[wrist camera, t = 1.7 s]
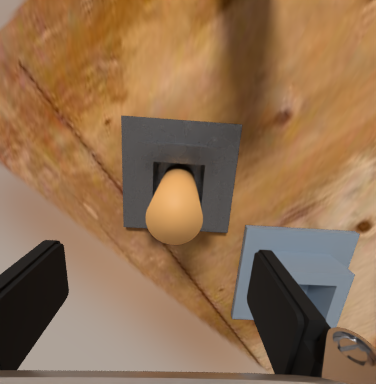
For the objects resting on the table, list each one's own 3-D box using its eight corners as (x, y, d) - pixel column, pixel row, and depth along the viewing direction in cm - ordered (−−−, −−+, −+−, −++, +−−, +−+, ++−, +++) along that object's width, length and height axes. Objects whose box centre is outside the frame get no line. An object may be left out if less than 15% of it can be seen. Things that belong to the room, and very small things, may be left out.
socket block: (354, 231, 33) (390, 252, 27) (325, 317, 38) (351, 351, 32) (245, 225, 32) (258, 245, 26) (230, 314, 37) (239, 347, 32)
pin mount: (240, 124, 28) (254, 122, 22) (226, 229, 32) (235, 250, 27) (123, 116, 27) (107, 111, 22) (125, 224, 32) (112, 244, 26)
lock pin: (195, 165, 28) (205, 194, 15) (193, 194, 30) (200, 246, 16) (164, 162, 28) (145, 190, 15) (163, 193, 29) (145, 243, 16)
